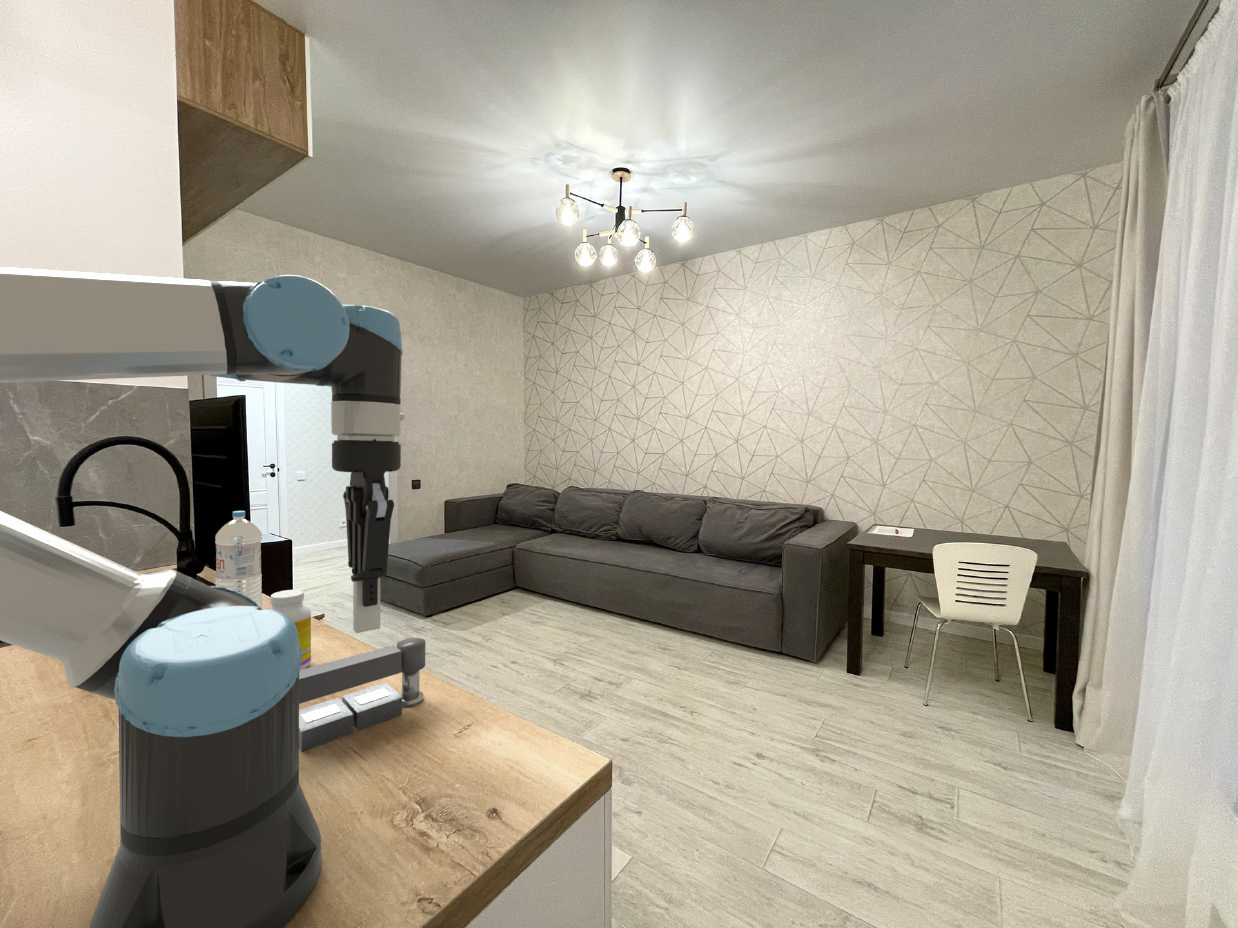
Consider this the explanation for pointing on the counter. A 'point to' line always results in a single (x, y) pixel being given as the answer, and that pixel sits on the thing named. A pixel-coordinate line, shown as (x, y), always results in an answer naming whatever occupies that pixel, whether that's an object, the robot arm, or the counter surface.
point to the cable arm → (361, 669)
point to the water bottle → (239, 557)
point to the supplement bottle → (296, 618)
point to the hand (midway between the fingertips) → (366, 628)
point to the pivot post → (411, 689)
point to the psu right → (373, 705)
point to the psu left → (324, 723)
